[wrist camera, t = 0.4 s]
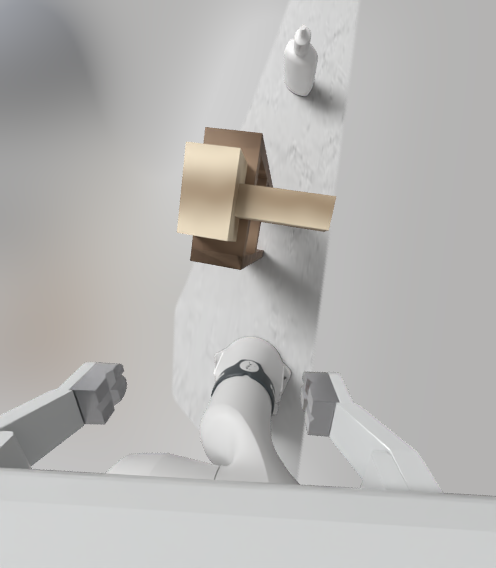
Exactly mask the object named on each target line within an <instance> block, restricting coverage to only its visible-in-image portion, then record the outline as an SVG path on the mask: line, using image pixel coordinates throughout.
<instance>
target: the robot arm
mask: <svg viewBox="0 0 496 568" xmlns="http://www.w3.org/2000/svg"><path fill="white" fill-rule="evenodd" d="M214 363H215V370H214V375H215V384H214V387H213V390H212V394H211V399H210V401H209V404H208V406H207V408H206V410H205V412H204V414H203V416H202V419H201V423H200V439H201V443H202V445H203V448H204V451H205V453H206V455H207V457H208V458H209V460H210V461H211V462H212V463H213V464H210V463H206V462H202V461H198V460H194V459H189V458H186V457H182V456H178V455H174V454H170V453H139V454H129V455H127V456H125V457H123V458H122V459H121V460H119V461H118V462H117V463H116V464H114V465H113V466H112V467H111V468H110V469H109V470H108V471H107V472H106V473H90V472H73V471H56V470H38V469H32V468H31V466H32V465H33V464H34V463H36V462H37V461H38V460H40V459H41V458H42V457H44V456H45V455H46V454H47V453H49V452H50V451H51V450H53V449H54V448H55V447H56V446H58V445H59V444H61V443H62V442H63V441H64V440H66V439H67V438H68V437H70V436H71V435H72V434H73V433H75V432H76V431H77V430H79V429H80V428H81V427H83V426H84V424H105V423H106V422H107V421H108V419H109V417H110V416H111V415H112V413H113V412H114V405H116V404H117V403H118V402H120V401H121V400H122V398H123V397H124V394H125V392H126V389H127V388H126V387H127V382H126V379H125V377H124V376H122V373H123V372H124V369H123V365H121V364H115V363H101V362H99V363H97V362H87V363H84V364H83V365H82V366H81V367H80V368H79V369H78V370H77V371H76V372H75V373H73V374H72V375H71V376H70V377H69V378H68V379H67V380H66V381H65V382H64V383H63V384H62V385H61V386H60V387H59V388H58V389H57V390H51V391H49V392H47V393H45V394H43V395H41V396H38V397H36V398H34V399H33V400H30V401H28V402H26V403H24V404H22V405H20V406H18V407H16V408H14V409H12V410H10V411H8V412H6V413H4V414H2V415H0V568H496V496H486V495H469V494H452V493H443V491H442V490H441V488H440V486H439V485H438V483H437V482H436V480H435V478H434V477H433V475H432V474H431V472H430V470H429V469H428V467H427V466H426V464H425V462H424V461H423V459H422V458H421V456H420V454H419V453H418V452H417V451H416V450H415V449H414V448H412V447H411V446H410V445H408V444H407V443H406V442H405V441H404V440H403V439H401V438H400V437H399V436H398V435H396V434H395V433H394V432H393V431H391V430H390V429H389V428H388V427H386V426H385V425H384V424H383V423H381V422H380V421H379V420H377V419H376V418H375V417H374V416H373V415H371V414H370V413H369V412H368V411H366V410H365V409H364V408H363V407H361V406H360V405H359V404H355V403H354V402H353V400H352V398H351V396H350V393H349V391H348V389H347V387H346V385H345V383H344V381H343V379H342V377H341V375H340V373H338V372H327V373H326V372H304V373H303V378H302V379H303V385H302V386H301V405H302V410H303V411H304V412H305V419H304V420H305V424H306V429H307V433H308V435H316V436H328V437H329V438H330V439H331V441H332V442H333V443H334V444H335V445H336V447H337V448H338V449H339V451H340V452H341V453H342V454H343V456H344V457H345V458H346V459H347V461H348V462H349V463H350V464H351V466H352V467H353V468H354V469H355V470H356V472H357V473H358V474H359V476H360V477H361V478H362V479H363V481H362V484H361V487H360V488H349V487H330V486H314V485H313V486H312V485H300V484H299V483H298V482H297V481H296V480H295V479H294V477H293V476H292V475H291V474H290V473H289V471H288V470H287V469H286V467H285V466H284V464H283V463H282V461H281V459H280V458H279V456H278V454H277V452H276V450H275V448H274V445H273V442H272V437H271V417H272V414H274V415H276V414H277V412H278V408H279V405H278V402H279V401H280V400H281V397H282V393H283V391H284V389H285V387H286V385H287V382H288V380H289V378H290V376H291V371H290V369H289V368H288V367H287V366H286V365H285V364H284V363H283V362H282V360H281V358H280V355H279V353H278V352H277V350H276V349H275V348H274V347H273V346H272V345H271V344H270V343H268V342H267V341H265V340H263V339H260V338H257V337H244V338H240V339H238V340H236V341H234V342H233V343H232V344H231V345H229V346H228V347H227V348H226V349H224V350H222V351H219V352H217V353H216V354H215V357H214ZM284 377H285V378H284Z"/></svg>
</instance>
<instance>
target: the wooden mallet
mask: <svg viewBox="0 0 496 568" xmlns="http://www.w3.org/2000/svg"><path fill="white" fill-rule="evenodd" d="M247 166H248V164H247V161H246V159H245V157H244V155H243V152H242V150H241V148H235V147H227V146H218V145H210V144H201V143H193V142H186V148H185V158H184V167H183V177H182V187H181V198H180V208H179V217H178V228H177V232H178V233H182V234H188V235H194V236H200V237H206V238H212V239H218V240H224V241H234V242H236V239H237V232H238V225H239V219H246V220H253V221H259V222H265V223H272V224H278V225H285V226H291V227H297V228H304V229H310V230H316V231H323V232H325V231H328V230H329V226H330V222H331V218H332V213H333V209H334V204H335V200H336V196H329V195H322V194H315V193H307V192H300V191H293V190H285V189H278V188H271V187H264V186H256V185H249V184H245V179H246V172H247Z"/></svg>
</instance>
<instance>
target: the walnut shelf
mask: <svg viewBox="0 0 496 568" xmlns="http://www.w3.org/2000/svg"><path fill="white" fill-rule="evenodd" d="M204 144H210V145H218V146H227V147H235V148H241V150H242V152H243V155H244V157H245V159H246V161H247V164H248V166H247V172H246V179H245V184H249V185H256V186H264V187H271V188H273V185H272V180H271V175H270V170H269V165H268V160H267V155H266V150H265V145H264V140H263V134H262V133H255V132H246V131H236V130H227V129H217V128H209V127H206V128H205V136H204ZM260 225H261V222H259V221H253V220H246V219H239V225H238V232H237V239H236V242H234V241H224V240H218V239H212V238H206V237H200V236H194V235H193V240H192V250H191V258H190V260H191V261H195V262H201V263H206V264H211V265H217V266H222V267H228V268H233V269H238V270H241V269H243V268H245V267H246V266H248V265H250V264H252V263H253V262H255V261H257V260H258V259H260V258H262V256H263V250H257V243H258V237H259V231H260Z"/></svg>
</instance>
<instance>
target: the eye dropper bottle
mask: <svg viewBox="0 0 496 568" xmlns="http://www.w3.org/2000/svg"><path fill="white" fill-rule="evenodd" d="M310 39H311V32H310V30H309V28H307V27H306V25H305V24H303V25H302V26H301V27H300V28H299V29H298V30H297V31H296V33H295V36H294V39H291V40H290V41H289V42H288V44H287V46H286V48H285V51H284V83H285V85H286V86H287V88H288V89H289V90H290V91H292V92H293V93H295V94H297V95H300V96H307V95H308V94H309V93H310V91H311V89H312V87H313V84H314V78H315V73H316V67H317V61H318V55H317V52H316V50H315V49H314V47H313V46H312V45H311V44H310Z"/></svg>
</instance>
